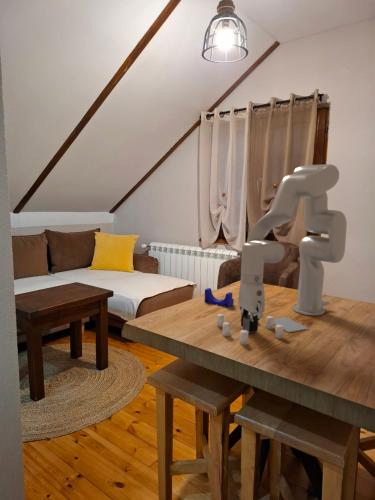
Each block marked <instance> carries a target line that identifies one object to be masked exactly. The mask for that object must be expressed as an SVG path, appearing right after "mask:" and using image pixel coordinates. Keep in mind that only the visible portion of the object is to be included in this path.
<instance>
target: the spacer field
mask: <svg viewBox="0 0 375 500" xmlns="http://www.w3.org/2000/svg"><path fill="white" fill-rule="evenodd" d="M255 311H256V310H255ZM253 315H254V316H255V315H256V314H253ZM274 319H275V317H274V316H271V315H268V316H266V319H265V320H266V321H265V323H266V324H265V328H266V330H267V329H268V330H273V329H274V326H275V331H274V332H275V334H274V337H275V338H276V339H278V340H282V339H283V338H284V326H283V325H274ZM216 326H217V327H218V328H219V327H220V328H222V336H224V337H230V336H231V322H228V321H225V314H223V313H218V314H217V315H216ZM239 332H240V333H239V344H240V345H241V346H247V345H248V343H249V333H248V331H247V330H243V329H241V330H240V331H239Z"/></svg>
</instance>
